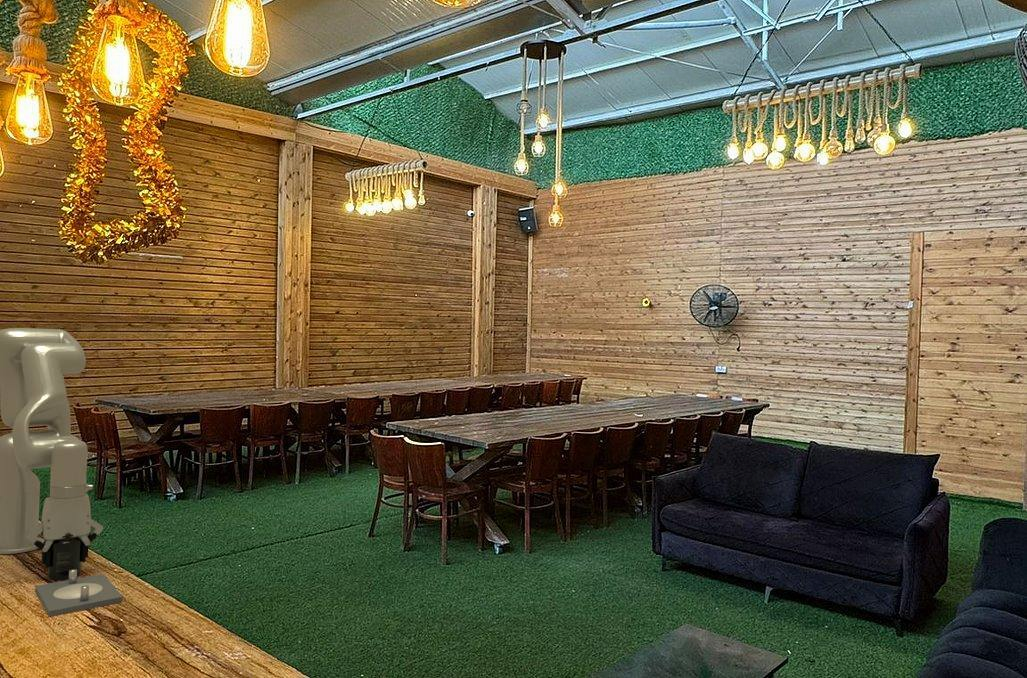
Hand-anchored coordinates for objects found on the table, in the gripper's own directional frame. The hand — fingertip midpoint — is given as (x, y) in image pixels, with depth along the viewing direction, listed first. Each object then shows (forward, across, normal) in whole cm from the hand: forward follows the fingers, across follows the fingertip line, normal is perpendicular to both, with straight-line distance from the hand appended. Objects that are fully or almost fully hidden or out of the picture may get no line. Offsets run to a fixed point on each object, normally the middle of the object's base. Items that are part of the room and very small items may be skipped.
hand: (65, 563), depth 173 cm
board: (+3, 0, +16) cm, 16 cm away
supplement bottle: (+4, 0, 0) cm, 4 cm away
